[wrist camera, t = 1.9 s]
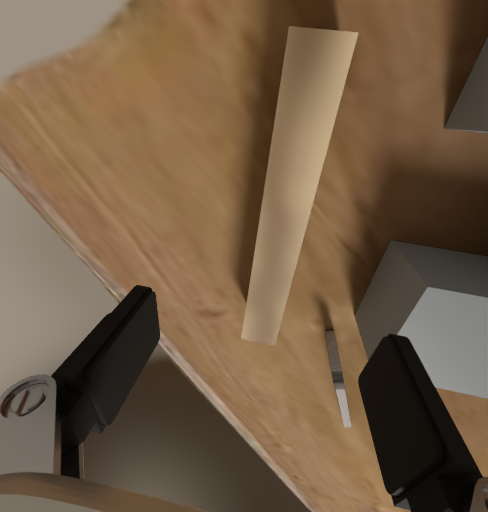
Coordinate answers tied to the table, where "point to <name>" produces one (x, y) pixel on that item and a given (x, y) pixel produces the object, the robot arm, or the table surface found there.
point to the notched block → (437, 284)
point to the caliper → (337, 376)
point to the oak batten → (294, 168)
